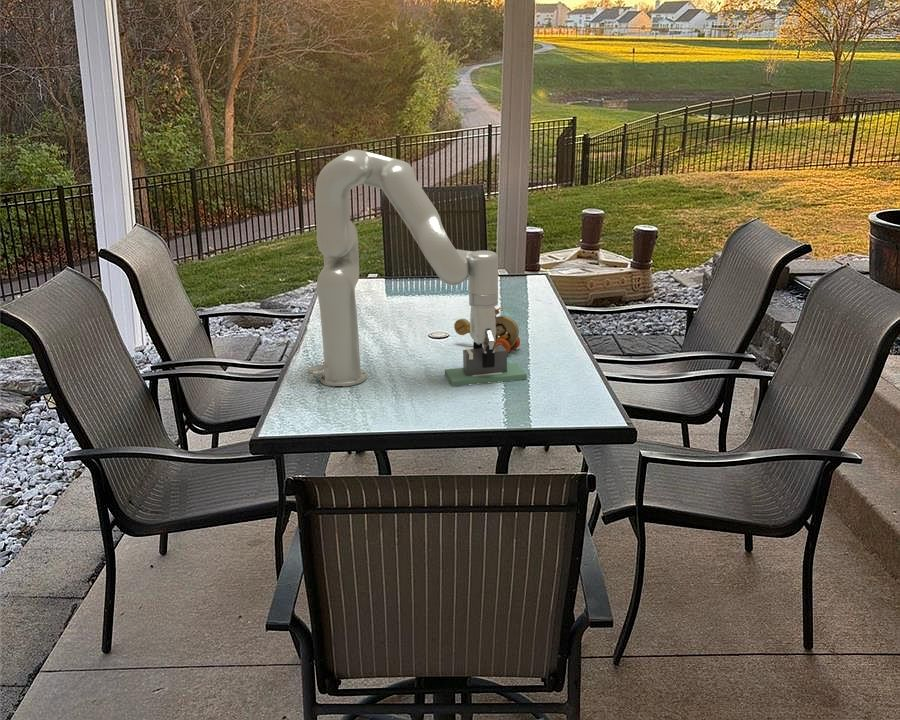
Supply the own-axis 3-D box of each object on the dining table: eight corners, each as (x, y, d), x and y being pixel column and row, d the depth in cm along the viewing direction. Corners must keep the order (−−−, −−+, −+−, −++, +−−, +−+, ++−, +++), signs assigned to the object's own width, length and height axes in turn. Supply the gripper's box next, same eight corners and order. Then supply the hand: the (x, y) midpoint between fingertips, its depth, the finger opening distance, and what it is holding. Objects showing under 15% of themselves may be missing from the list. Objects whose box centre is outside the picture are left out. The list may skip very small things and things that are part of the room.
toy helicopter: (511, 358, 249) (510, 311, 244) (448, 348, 259) (447, 303, 255) (524, 350, 255) (523, 304, 251) (462, 341, 266) (461, 297, 261)
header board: (452, 386, 227) (452, 366, 225) (444, 374, 236) (444, 355, 235) (526, 379, 231) (526, 359, 229) (516, 367, 240) (516, 348, 238)
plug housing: (466, 376, 230) (466, 354, 228) (463, 371, 234) (462, 349, 232) (506, 372, 232) (506, 350, 230) (503, 367, 236) (503, 345, 234)
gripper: (462, 292, 234) (462, 352, 240) (477, 308, 218) (477, 373, 223) (489, 290, 236) (489, 350, 241) (506, 306, 220) (506, 370, 225)
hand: (483, 361), depth 232 cm, fingers open, 9 cm apart
